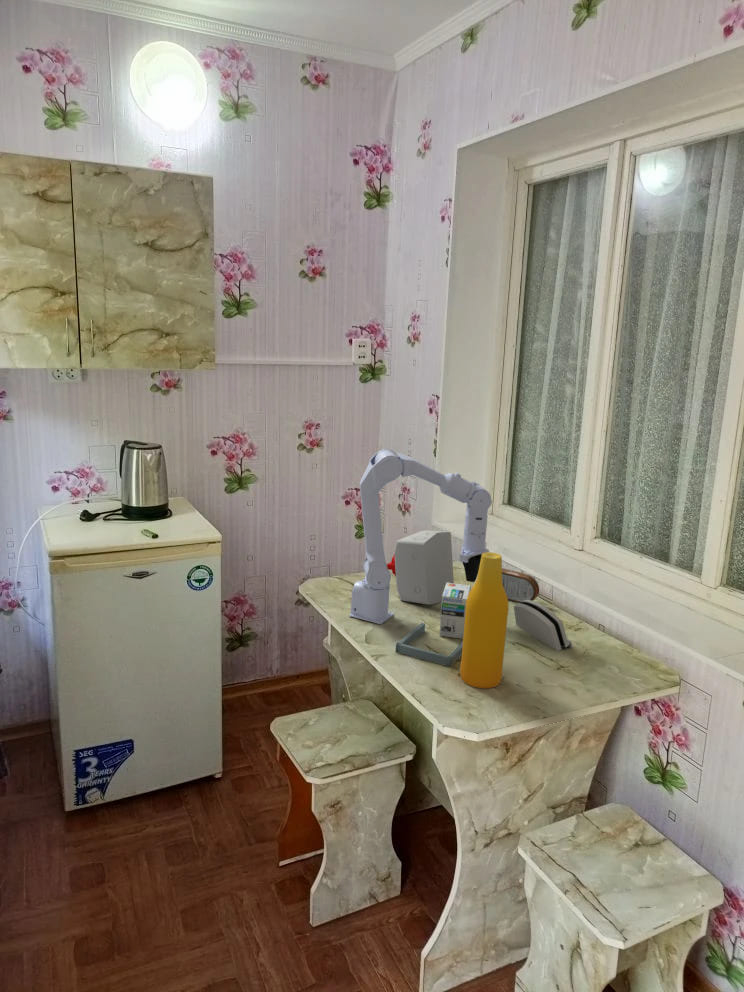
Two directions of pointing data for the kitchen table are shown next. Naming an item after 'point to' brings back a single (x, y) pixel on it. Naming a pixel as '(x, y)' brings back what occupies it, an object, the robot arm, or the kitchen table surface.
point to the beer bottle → (485, 626)
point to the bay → (425, 654)
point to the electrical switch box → (423, 566)
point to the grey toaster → (541, 624)
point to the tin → (519, 586)
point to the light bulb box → (453, 610)
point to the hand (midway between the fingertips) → (470, 580)
